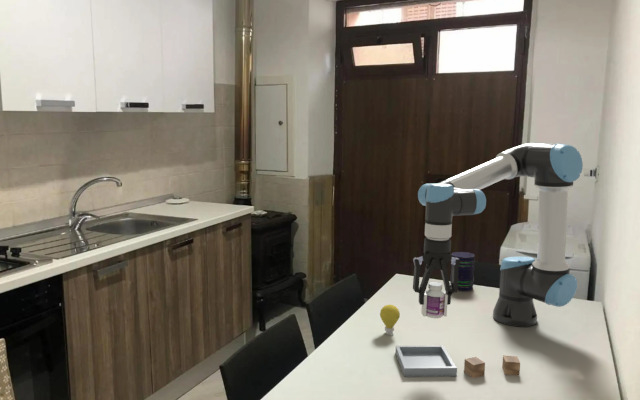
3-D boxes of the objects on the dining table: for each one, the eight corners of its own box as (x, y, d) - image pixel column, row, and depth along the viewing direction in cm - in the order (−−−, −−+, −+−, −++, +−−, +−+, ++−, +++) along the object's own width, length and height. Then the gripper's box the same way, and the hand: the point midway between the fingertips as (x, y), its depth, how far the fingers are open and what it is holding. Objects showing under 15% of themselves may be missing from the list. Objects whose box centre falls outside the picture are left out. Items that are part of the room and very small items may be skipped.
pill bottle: (443, 319, 150) (445, 287, 148) (424, 318, 151) (426, 286, 149) (442, 313, 155) (444, 281, 153) (424, 311, 156) (426, 280, 154)
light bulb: (400, 330, 180) (401, 303, 178) (397, 338, 173) (398, 309, 172) (381, 328, 182) (382, 300, 180) (377, 335, 175) (378, 307, 174)
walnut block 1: (475, 369, 152) (476, 356, 151) (484, 375, 148) (485, 362, 148) (464, 372, 150) (464, 359, 150) (472, 378, 147) (473, 365, 146)
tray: (443, 352, 162) (443, 345, 162) (456, 376, 148) (457, 367, 147) (395, 353, 162) (395, 345, 162) (404, 376, 147) (404, 368, 147)
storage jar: (450, 290, 222) (452, 256, 220) (448, 283, 231) (450, 251, 229) (474, 292, 220) (476, 257, 218) (472, 284, 230) (473, 252, 227)
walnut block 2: (516, 369, 152) (517, 356, 152) (519, 375, 148) (520, 362, 148) (502, 368, 153) (503, 355, 152) (504, 374, 149) (505, 361, 148)
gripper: (465, 235, 153) (460, 310, 157) (403, 234, 153) (400, 310, 156) (473, 240, 146) (468, 319, 149) (408, 240, 145) (405, 319, 149)
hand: (433, 314), depth 153 cm, fingers closed on pill bottle, 5 cm apart
